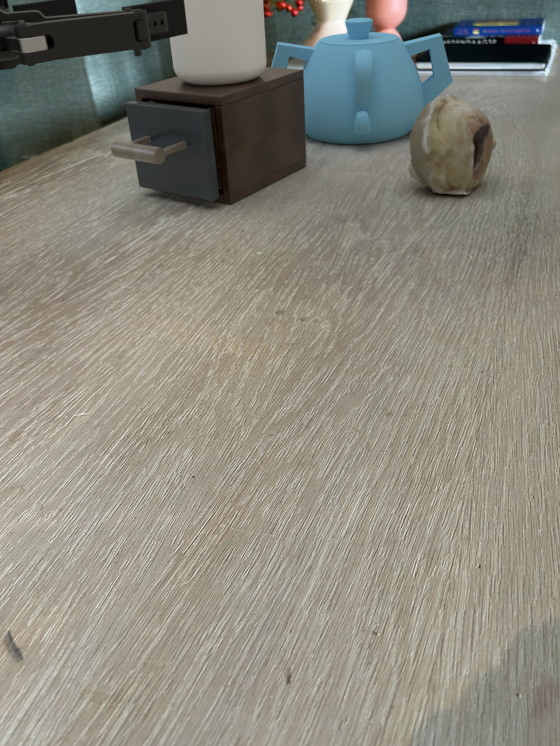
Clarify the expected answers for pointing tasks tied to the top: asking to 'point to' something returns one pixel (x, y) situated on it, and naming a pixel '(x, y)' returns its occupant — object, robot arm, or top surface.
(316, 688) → the top surface
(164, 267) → the top surface
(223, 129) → the cabinet
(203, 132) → the drawer
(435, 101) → the garlic bulb
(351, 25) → the teapot
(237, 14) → the cup
